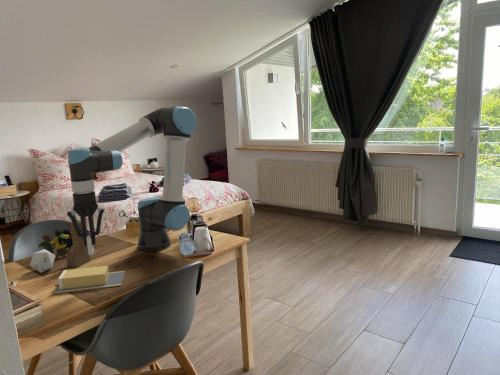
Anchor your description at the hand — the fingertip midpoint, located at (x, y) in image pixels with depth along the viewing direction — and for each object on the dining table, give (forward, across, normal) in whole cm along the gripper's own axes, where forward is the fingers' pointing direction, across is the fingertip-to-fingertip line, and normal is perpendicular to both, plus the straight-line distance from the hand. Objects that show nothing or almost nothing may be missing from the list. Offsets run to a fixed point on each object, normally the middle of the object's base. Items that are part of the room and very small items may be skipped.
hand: (91, 253), depth 147 cm
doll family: (+12, +18, -37) cm, 43 cm away
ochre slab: (+9, -5, 0) cm, 10 cm away
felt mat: (+12, +1, 0) cm, 12 cm away
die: (+12, +23, -19) cm, 32 cm away
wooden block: (+12, +10, -22) cm, 27 cm away
